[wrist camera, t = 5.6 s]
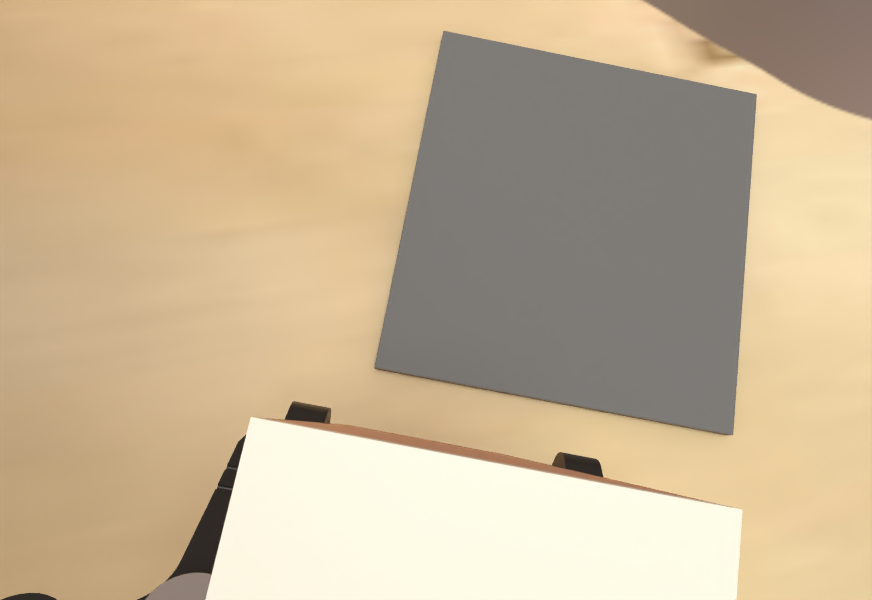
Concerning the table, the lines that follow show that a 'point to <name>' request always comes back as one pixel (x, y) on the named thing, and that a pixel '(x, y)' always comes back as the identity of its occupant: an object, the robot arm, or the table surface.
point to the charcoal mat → (576, 236)
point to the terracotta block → (454, 526)
